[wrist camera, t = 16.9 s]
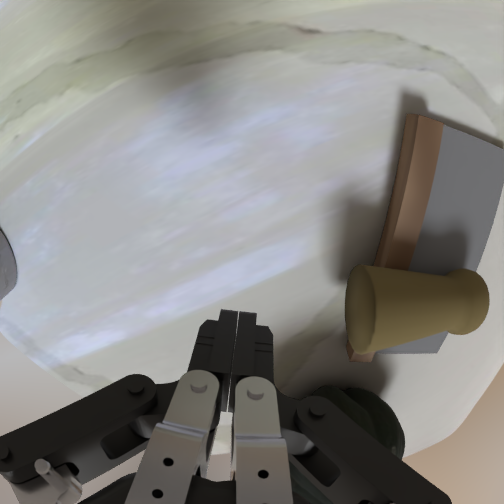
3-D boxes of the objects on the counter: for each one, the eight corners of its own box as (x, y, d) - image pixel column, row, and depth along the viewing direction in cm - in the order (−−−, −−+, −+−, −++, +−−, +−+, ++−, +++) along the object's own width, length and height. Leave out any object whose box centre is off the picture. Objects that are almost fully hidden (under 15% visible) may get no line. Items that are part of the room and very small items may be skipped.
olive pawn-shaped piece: (356, 246, 20) (472, 248, 21) (339, 309, 24) (447, 302, 24) (386, 309, 15) (511, 296, 16) (357, 372, 19) (475, 352, 19)
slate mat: (365, 347, 26) (367, 353, 25) (430, 121, 18) (435, 121, 17) (434, 347, 26) (437, 353, 25) (504, 150, 17) (509, 152, 17)
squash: (208, 440, 26) (279, 555, 18) (335, 368, 21) (426, 512, 13) (280, 412, 37) (333, 498, 29) (374, 352, 32) (436, 449, 25)
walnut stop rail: (345, 346, 26) (349, 361, 24) (406, 113, 18) (418, 114, 16) (365, 347, 26) (370, 362, 24) (430, 121, 18) (443, 123, 16)
